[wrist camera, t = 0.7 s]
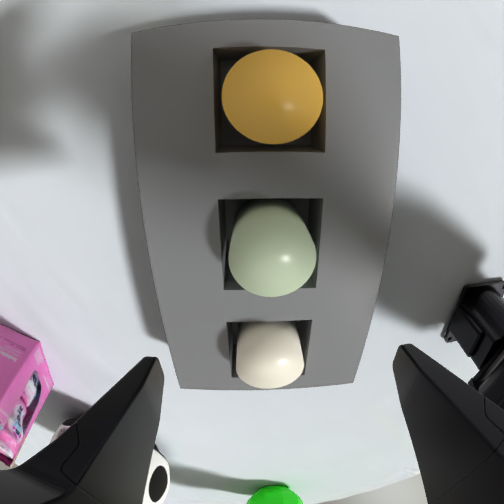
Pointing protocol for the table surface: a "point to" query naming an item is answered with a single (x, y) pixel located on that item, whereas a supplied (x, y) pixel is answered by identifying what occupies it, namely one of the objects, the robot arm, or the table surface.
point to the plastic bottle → (275, 496)
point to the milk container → (156, 475)
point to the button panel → (265, 190)
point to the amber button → (272, 96)
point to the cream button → (268, 353)
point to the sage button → (270, 248)
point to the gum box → (20, 389)
